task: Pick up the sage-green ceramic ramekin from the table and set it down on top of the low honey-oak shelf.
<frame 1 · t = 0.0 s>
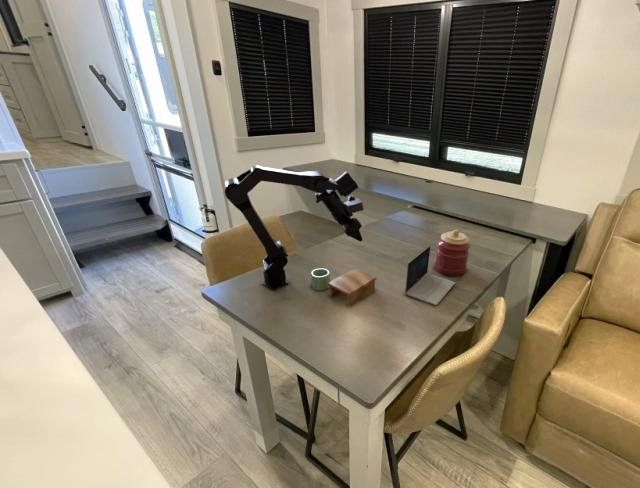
hand: (357, 235, 125), 15 cm above the table, tool tilted 35°, fingers open, 9 cm apart
laptop: (430, 289, 123), on the table
shelf: (352, 293, 118), on the table
ramekin: (321, 285, 121), on the table
kitchen canister: (450, 269, 138), on the table
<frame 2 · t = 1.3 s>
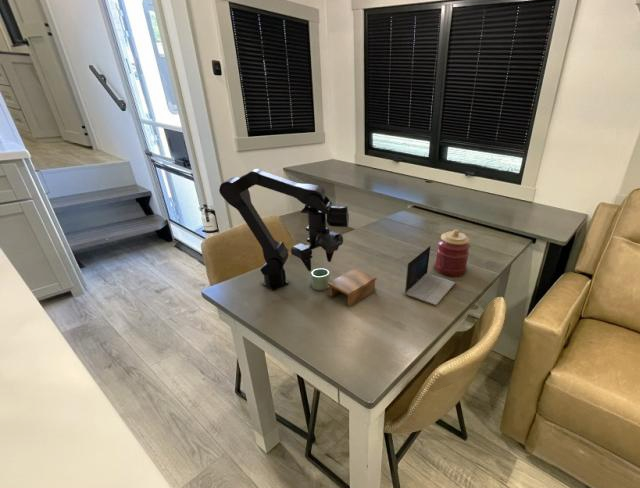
hand: (319, 266, 117), 8 cm above the table, tool pointing down, fingers open, 9 cm apart
nothing on the table moved.
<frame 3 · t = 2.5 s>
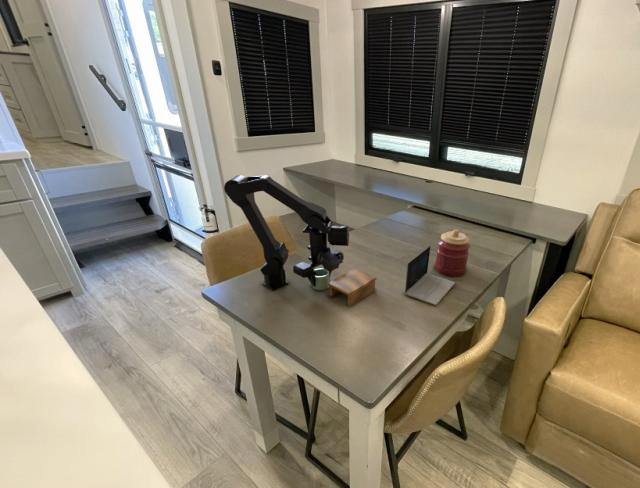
hand: (320, 282, 120), 1 cm above the table, tool pointing down, fingers closed on ramekin, 6 cm apart
ramekin: (321, 285, 121), on the table, touching gripper
everything else where it was.
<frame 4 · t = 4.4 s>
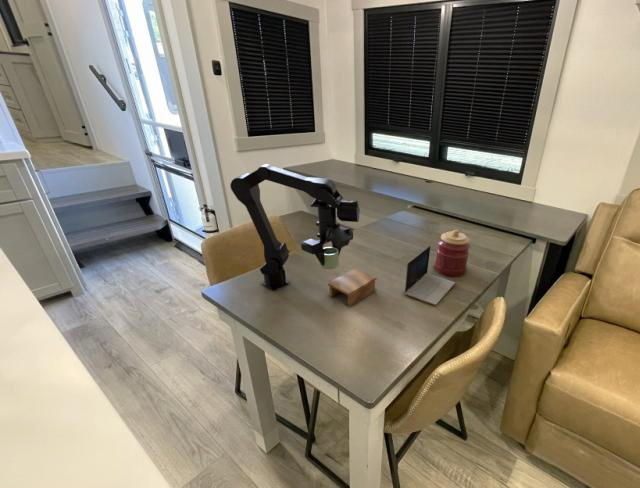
hand: (329, 261, 115), 11 cm above the table, tool pointing down, fingers closed on ramekin, 6 cm apart
ramekin: (329, 265, 115), point 9 cm above the table, touching gripper
everything else where it was.
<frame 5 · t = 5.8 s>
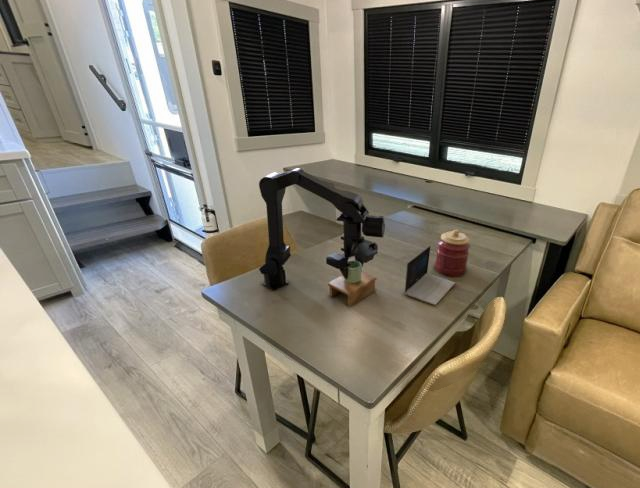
hand: (352, 275, 114), 7 cm above the table, tool pointing down, fingers closed on ramekin, 6 cm apart
ramekin: (352, 278, 115), point 6 cm above the table, touching gripper
everything else where it was.
when the fingers open (7 cm above the table, at t = 6.5 s): ramekin stays where it is, resting on shelf.
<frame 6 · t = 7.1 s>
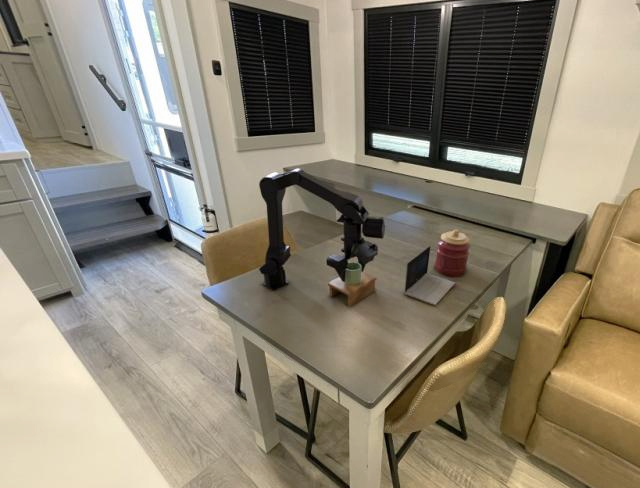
hand: (352, 276, 114), 7 cm above the table, tool pointing down, fingers open, 9 cm apart
ramekin: (352, 279, 115), point 5 cm above the table, touching shelf
everything else where it was.
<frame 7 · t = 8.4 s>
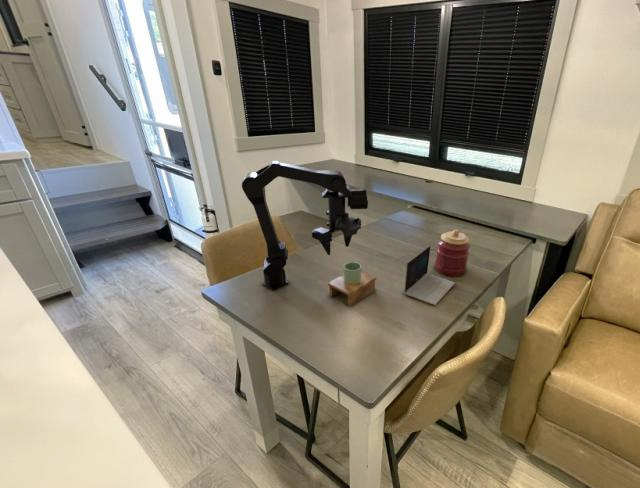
hand: (338, 250, 120), 12 cm above the table, tool pointing down, fingers open, 9 cm apart
nothing on the table moved.
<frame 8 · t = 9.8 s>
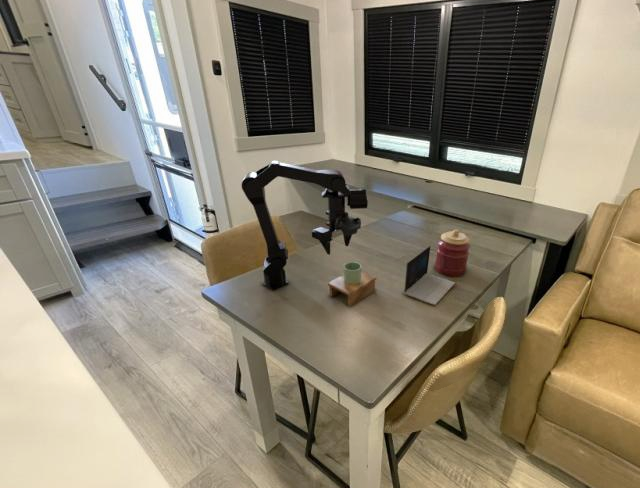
hand: (337, 250, 120), 12 cm above the table, tool pointing down, fingers open, 9 cm apart
nothing on the table moved.
at the end: ramekin inside the target area on the shelf (0.0 cm from its centre), point 5.5 cm above the shelf's base; ramekin tilted 0°; the gripper is holding nothing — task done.
